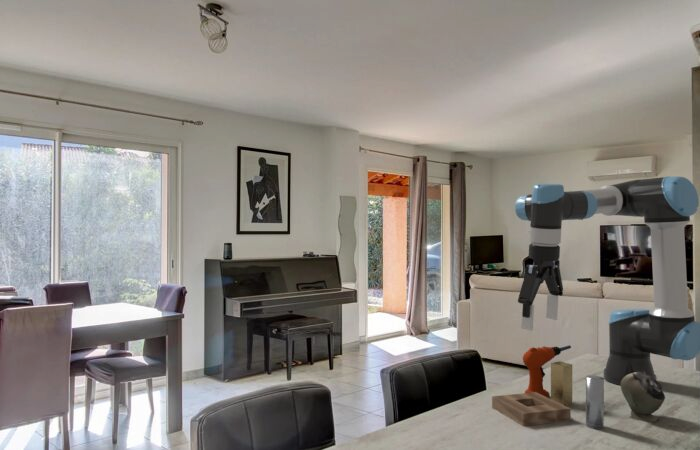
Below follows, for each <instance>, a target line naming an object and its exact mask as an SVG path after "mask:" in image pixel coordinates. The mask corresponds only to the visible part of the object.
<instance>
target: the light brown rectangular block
mask: <svg viewBox="0 0 700 450" xmlns="http://www.w3.org/2000/svg"><path fill="white" fill-rule="evenodd" d="M550 399H551V400H554V401H556V402H558V403H560V404H562V405H564V406H566V407H567V406H569V405H573V364H572V363H569V362H564V361H561V360H560V361H555V362H550Z"/></svg>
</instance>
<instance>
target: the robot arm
mask: <svg viewBox="0 0 700 450" xmlns="http://www.w3.org/2000/svg"><path fill="white" fill-rule="evenodd" d="M564 187H565V186H564V185H563V184H559V183H558V184H557V183H536V184H534V185H533V187H532V193H531V194H524V195H521V196H519V197H518V198H517V199H516V200H515V204H514V211H515V214H516V216H517V217H518V218H519V219H520V220H522V221H529V222H530V225H529V226H530V228H529V230H528V233H529V242H530V243H529V245H528V258H529V259H532V260H533V261H532V264H526V266H525V273H524V277H523V280H522V284H521V287H520V291H519V295H518V298H517V303H519V304H522V307H521V308H522V312H521V313H522V314H521V328H520V329H523V330H527V331H531V332H532V331H534V317H535V314H534V313H535V304H534V301H535V298H536V295H537V294H538V291H539V289H540V287H541V284H544V283H545V285H546V288H547V290H548V294H547V299H546V313H545V314H546V315H545V318H546V319H548V320H549V319H550V320H554V321H557V320H558V308H559V297H562V296H563V293H564V292H563V291H564V287H563V280H562V274H561V269H560V263H561V262H560V254H561V247H560V243H561V242H562V225H563V223H562V222H563V221H572V220H579V221H582V220H585V219H590V218H591V217H594V215H598V214H602V215H603V216H623V217H624V216H625V217H635V218H636V217H637V218H638V217H639V218H644V224H645V225H646V226H647V227H649V229H650V240H651V241H650V243H651V245H650V247H651V263H652V265H651V266H652V283H653V284H652V285H653V302H654V303H653V304H654V306H653V308H651V310H650V309H645V308H636V309H635V308H630V309H629V308H628V309H616V310H615V309H614V310H613V311H611V312H610V313H609V321H608V326H609V328H608V329H609V330H608V331H609V335H608V336H609V355H608V358H607V362H606V365H605V368H604V369H603V378H604V381H607V382H609V383H612V384H615V385H619V386H621V381H622V379H623V378H624V377H625V376H626V375H628V374H631V373H635V372H643V371H642V369H643V368H644V369H645V370H646V372H647V373H648V374H647V375H649V376H652V377H653V378H654V379H655V380H656V381H657V382H658V380H657V375H656V374H655V370H654V367H653V363H652V361H651V354H653V355H656V356H661V357H666V358H671V359H672V360H681V361H691V360H694V359H695V358H696V357H698V355H699V354H700V322H699V321H696V319H695V318H696V317H695V316H696V315H695V312H694V311H693V310H691V308H689V302H688V301H689V300H688V298H689V297H688V282H687V281H688V279H687V262H686V261H687V258H686V242H685V241H686V240H685V227H686V226H687V225H688V224H689V223H691V217H692V216H693V215H695V214H696V213H697V211H698V208H699V201H700V200H699V194H698V191H697V189H696V187H695V185H694V184H693V183H692V181H691V180H690V179H689V178H686V177H684V176H663V177H655V178H654V177H653V178H644V179H634V180H628V181H623V182H620V183H619V182H618V183H614V184H608V185H603V186H601V187H600V188H595V189H585V190H573V191H572V190H571V191H564V190H565V189H564Z"/></svg>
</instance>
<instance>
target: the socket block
mask: <svg viewBox="0 0 700 450" xmlns="http://www.w3.org/2000/svg"><path fill="white" fill-rule="evenodd" d="M491 408H493V409H494V410H496V411H498V412H499V413H501V414H503V415H505V416H506V417H508V418H509V419H511V420H513V422H516V423H517V424H520V425H521V426H522V427H526V426H535V425H543V424H549V423H551V424H553V423H559V422H567V421H568V422H569V421H571V418H572V417H571V415H572V414H571V413H572V412H571V409H572V408H571V407H569V406H567V405H566V406H564V405H562V404H560V403H558V402H556V401H554V400H551V398H550V397H549V398H547V397H545V396H543V395H541V394H539V393H537V392H532V393H525V392H524V393H514V394H513V393H512V394H505V395H504V394H503V395H502V394H501V395H494V396H492V397H491Z"/></svg>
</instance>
